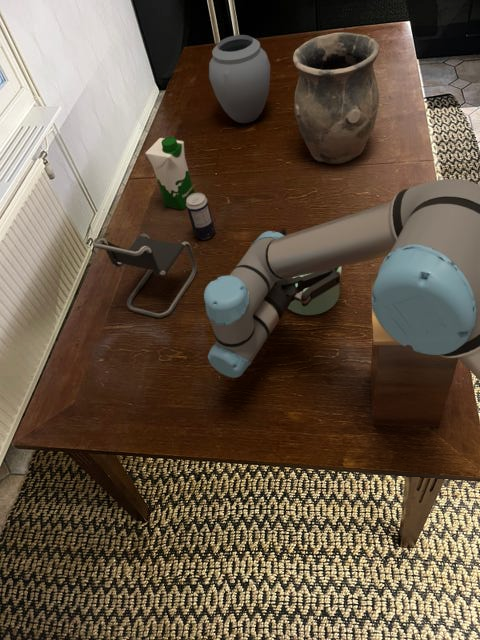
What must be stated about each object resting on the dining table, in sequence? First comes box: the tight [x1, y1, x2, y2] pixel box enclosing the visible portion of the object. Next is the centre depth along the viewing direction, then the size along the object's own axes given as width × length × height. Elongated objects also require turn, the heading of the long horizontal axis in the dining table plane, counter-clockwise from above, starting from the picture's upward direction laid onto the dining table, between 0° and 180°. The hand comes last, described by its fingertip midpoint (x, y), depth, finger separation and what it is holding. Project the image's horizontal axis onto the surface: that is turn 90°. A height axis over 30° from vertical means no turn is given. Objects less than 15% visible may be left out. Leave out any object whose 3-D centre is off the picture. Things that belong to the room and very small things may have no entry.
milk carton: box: [145, 136, 196, 211], centre depth 147 cm, size 9×9×20 cm
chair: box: [92, 233, 197, 319], centre depth 124 cm, size 13×17×22 cm
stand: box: [369, 273, 459, 428], centre depth 92 cm, size 14×14×28 cm
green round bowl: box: [287, 283, 341, 316], centre depth 121 cm, size 14×14×8 cm
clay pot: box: [292, 31, 380, 165], centre depth 146 cm, size 22×23×30 cm
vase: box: [208, 34, 271, 124], centre depth 169 cm, size 20×20×24 cm
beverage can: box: [186, 192, 216, 240], centre depth 138 cm, size 6×6×12 cm
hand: (312, 241), depth 115 cm, fingers open, 13 cm apart
